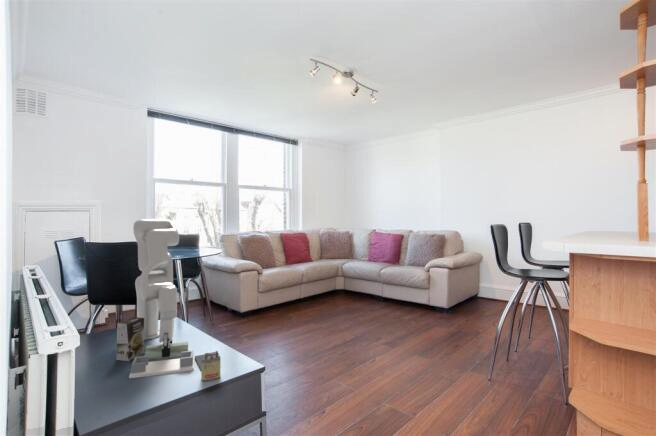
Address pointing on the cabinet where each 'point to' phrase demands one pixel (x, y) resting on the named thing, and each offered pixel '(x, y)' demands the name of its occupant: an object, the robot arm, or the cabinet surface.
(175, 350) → the rail
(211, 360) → the worn yellow tin
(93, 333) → the cabinet surface
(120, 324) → the coffee box
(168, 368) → the bracket board
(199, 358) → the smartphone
